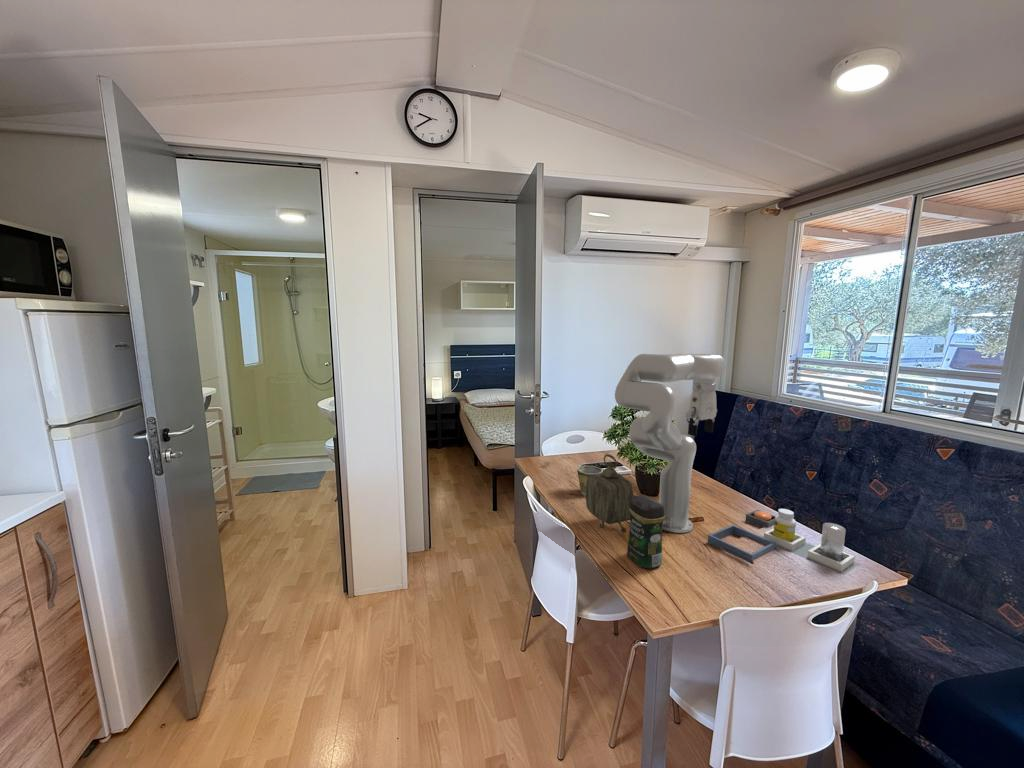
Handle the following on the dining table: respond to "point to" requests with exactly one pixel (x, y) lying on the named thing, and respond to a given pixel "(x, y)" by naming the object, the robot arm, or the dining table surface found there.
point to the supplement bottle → (785, 525)
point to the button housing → (759, 520)
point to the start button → (762, 515)
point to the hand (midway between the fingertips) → (700, 433)
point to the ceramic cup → (586, 475)
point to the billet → (832, 541)
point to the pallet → (812, 552)
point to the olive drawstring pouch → (609, 496)
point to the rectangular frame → (716, 541)
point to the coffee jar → (645, 531)
